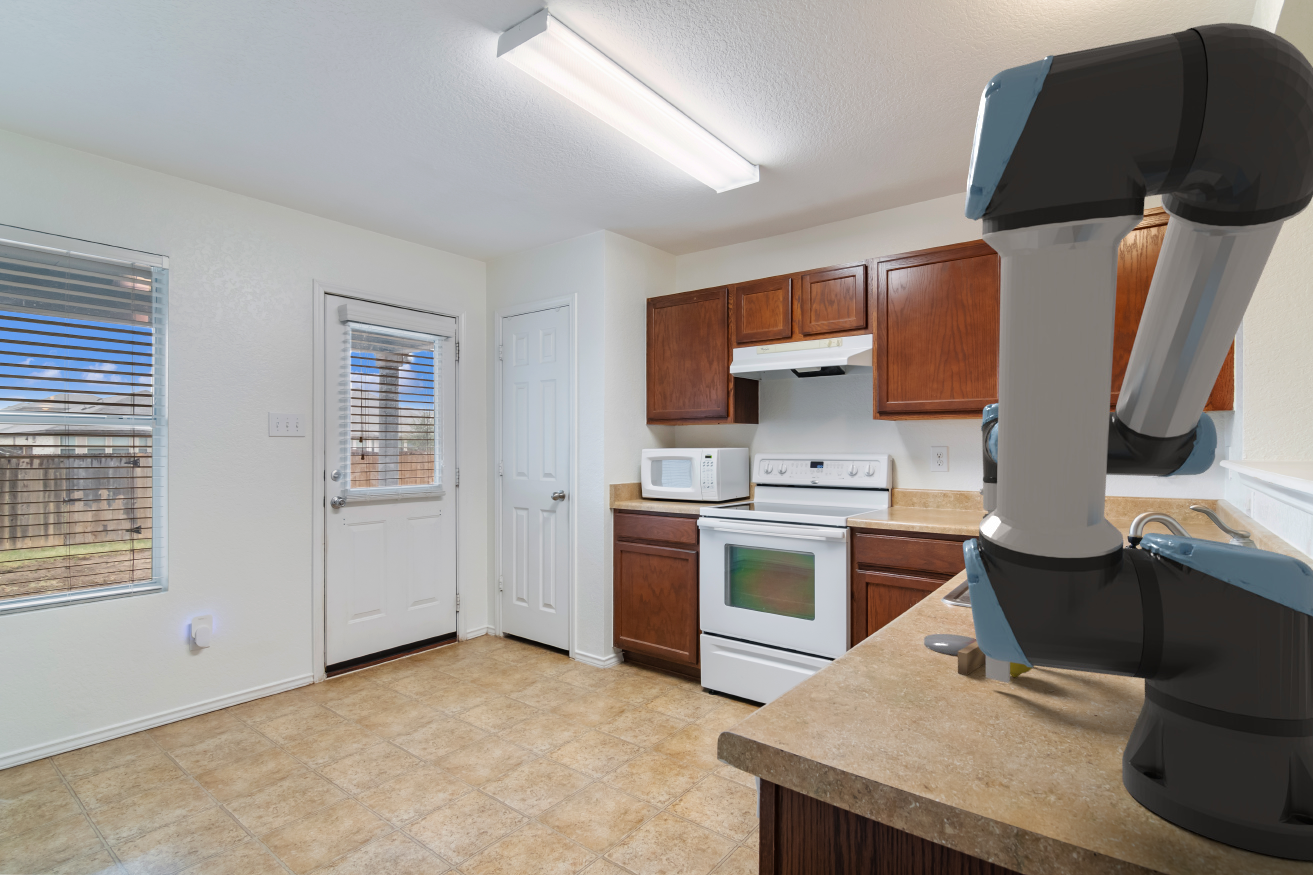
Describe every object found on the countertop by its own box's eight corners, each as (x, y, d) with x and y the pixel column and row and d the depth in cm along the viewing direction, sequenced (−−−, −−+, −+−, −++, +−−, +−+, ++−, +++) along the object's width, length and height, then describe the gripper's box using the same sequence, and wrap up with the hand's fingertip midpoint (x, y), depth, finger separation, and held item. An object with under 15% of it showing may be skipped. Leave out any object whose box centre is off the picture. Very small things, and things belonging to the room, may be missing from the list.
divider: (966, 674, 89) (966, 653, 89) (957, 672, 89) (957, 651, 90) (1008, 647, 101) (1008, 628, 101) (1000, 645, 102) (1000, 626, 102)
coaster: (974, 660, 95) (974, 654, 95) (914, 646, 101) (914, 641, 101) (994, 647, 101) (994, 642, 101) (937, 635, 108) (937, 630, 108)
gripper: (1012, 506, 100) (1013, 642, 99) (950, 518, 82) (951, 682, 82) (1067, 509, 94) (1069, 653, 94) (1014, 523, 77) (1015, 699, 77)
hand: (1014, 667), depth 88 cm, fingers open, 13 cm apart
